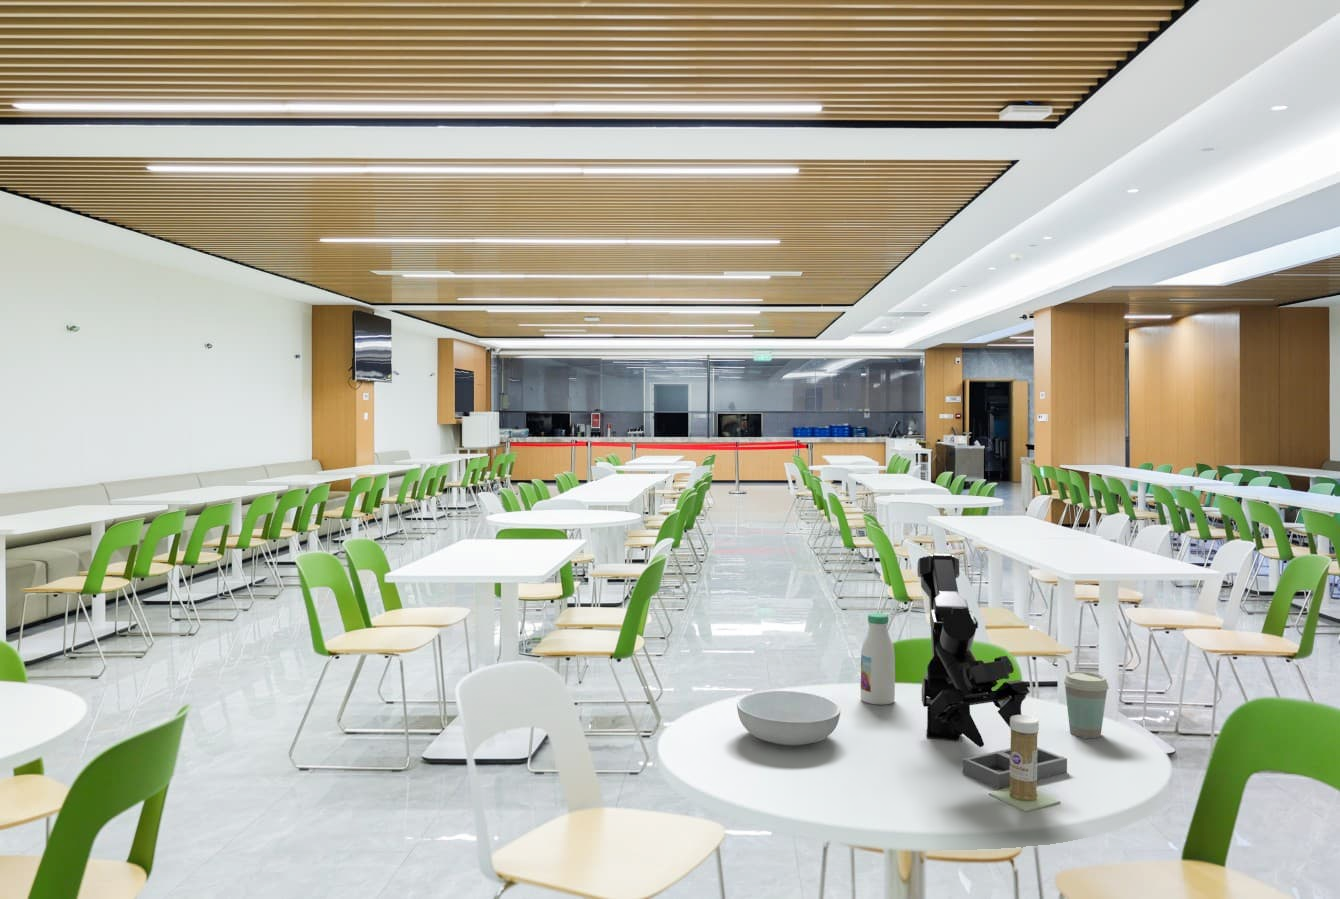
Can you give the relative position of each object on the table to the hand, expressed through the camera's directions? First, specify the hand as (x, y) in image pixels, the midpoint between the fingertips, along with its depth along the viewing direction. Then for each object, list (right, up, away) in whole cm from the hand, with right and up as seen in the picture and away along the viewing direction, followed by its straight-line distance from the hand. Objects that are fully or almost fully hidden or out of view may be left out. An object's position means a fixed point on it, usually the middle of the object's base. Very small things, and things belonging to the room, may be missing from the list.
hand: (1002, 742), depth 159 cm
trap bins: (+5, -8, +7) cm, 11 cm away
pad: (+2, -8, -5) cm, 10 cm away
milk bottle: (-10, -7, +51) cm, 53 cm away
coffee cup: (+28, -8, +28) cm, 40 cm away
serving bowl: (-34, -8, +25) cm, 43 cm away
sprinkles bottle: (+2, -8, -5) cm, 9 cm away
